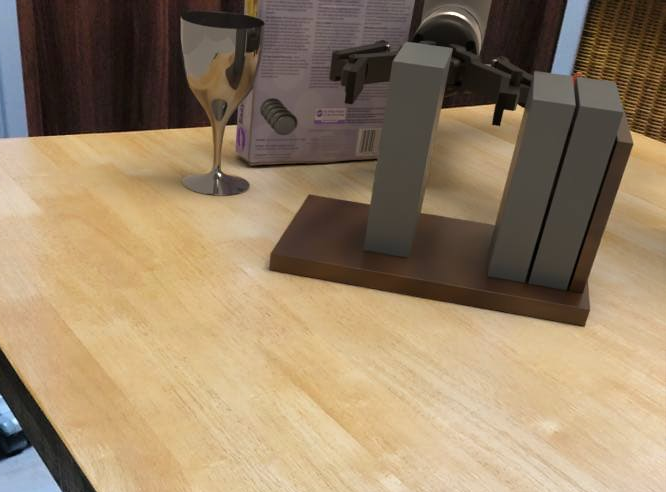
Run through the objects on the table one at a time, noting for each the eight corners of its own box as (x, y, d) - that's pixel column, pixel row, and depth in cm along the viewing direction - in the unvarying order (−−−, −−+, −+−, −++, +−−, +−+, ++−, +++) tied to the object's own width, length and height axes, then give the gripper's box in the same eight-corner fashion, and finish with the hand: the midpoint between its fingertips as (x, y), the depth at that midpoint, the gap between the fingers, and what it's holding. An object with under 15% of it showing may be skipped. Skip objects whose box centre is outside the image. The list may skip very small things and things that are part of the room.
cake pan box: (378, 146, 105) (404, -25, 94) (398, 159, 102) (429, -17, 90) (231, 154, 99) (241, -29, 87) (248, 169, 95) (260, -20, 84)
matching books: (564, 247, 80) (616, 82, 71) (566, 290, 73) (624, 111, 64) (492, 235, 81) (534, 70, 72) (486, 276, 74) (532, 98, 65)
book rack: (579, 254, 83) (628, 103, 74) (584, 326, 71) (644, 155, 63) (307, 209, 87) (323, 59, 78) (269, 269, 75) (283, 101, 66)
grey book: (418, 226, 82) (453, 48, 72) (407, 258, 76) (444, 68, 66) (376, 219, 82) (405, 41, 72) (362, 250, 76) (392, 60, 66)
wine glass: (194, 199, 87) (198, 29, 77) (167, 173, 92) (168, 10, 82) (265, 193, 90) (278, 28, 80) (236, 168, 95) (244, 11, 85)
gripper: (549, 106, 95) (551, 162, 79) (327, 75, 98) (286, 122, 82) (570, 28, 90) (577, 71, 74) (336, -2, 93) (294, 33, 77)
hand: (424, 98), depth 78 cm, fingers open, 13 cm apart
